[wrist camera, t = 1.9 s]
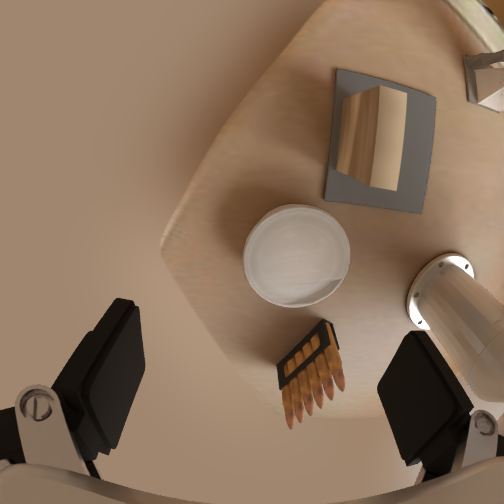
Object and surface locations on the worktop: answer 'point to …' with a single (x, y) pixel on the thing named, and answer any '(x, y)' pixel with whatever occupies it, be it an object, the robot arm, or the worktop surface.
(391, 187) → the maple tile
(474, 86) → the skyscraper
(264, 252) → the ramekin
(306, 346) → the ammunition clip
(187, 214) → the worktop surface
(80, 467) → the robot arm
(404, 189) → the mat
